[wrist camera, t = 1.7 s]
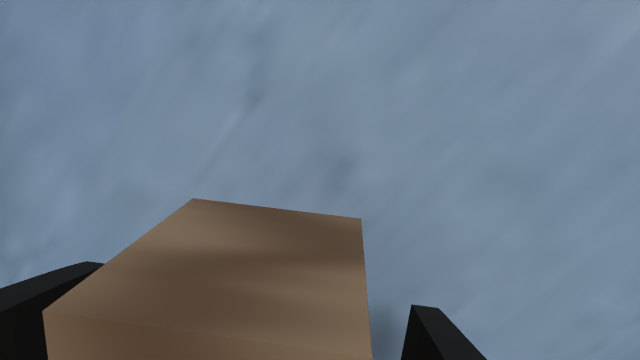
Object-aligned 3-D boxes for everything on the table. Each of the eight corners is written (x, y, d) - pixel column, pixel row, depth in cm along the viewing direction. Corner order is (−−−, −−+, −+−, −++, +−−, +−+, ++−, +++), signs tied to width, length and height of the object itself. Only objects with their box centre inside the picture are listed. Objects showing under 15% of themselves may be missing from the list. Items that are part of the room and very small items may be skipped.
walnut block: (360, 218, 10) (372, 357, 5) (340, 359, 11) (333, 585, 6) (194, 197, 10) (42, 310, 5) (193, 338, 11) (70, 539, 6)
